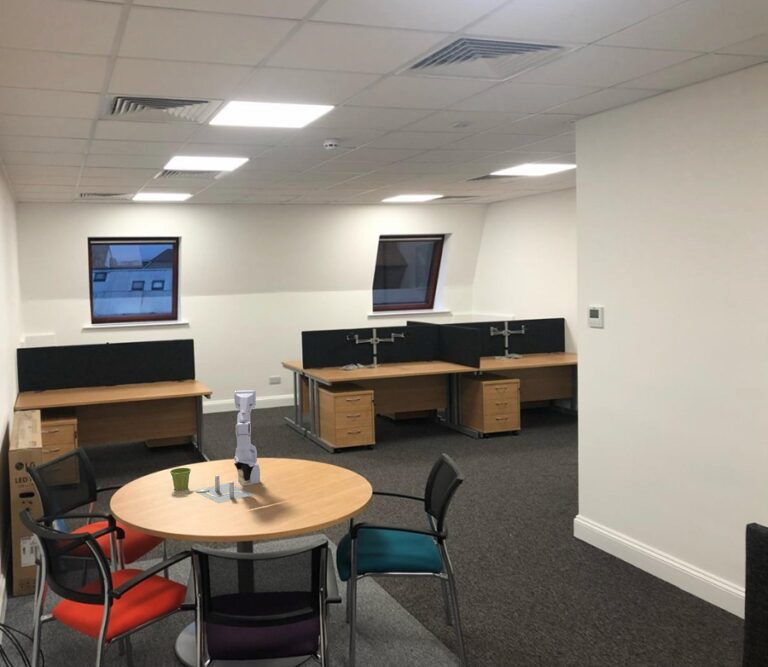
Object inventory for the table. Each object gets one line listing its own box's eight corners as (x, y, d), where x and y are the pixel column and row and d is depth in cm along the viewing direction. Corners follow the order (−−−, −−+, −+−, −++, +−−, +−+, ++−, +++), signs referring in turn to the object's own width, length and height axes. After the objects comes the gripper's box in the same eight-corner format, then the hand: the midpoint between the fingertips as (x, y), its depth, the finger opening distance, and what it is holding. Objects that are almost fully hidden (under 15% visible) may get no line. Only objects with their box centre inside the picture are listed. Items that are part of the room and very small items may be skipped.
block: (246, 480, 327) (245, 467, 327) (250, 482, 324) (250, 469, 324) (238, 482, 325) (237, 469, 324) (242, 484, 322) (242, 471, 321)
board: (228, 484, 342) (228, 468, 342) (255, 496, 324) (255, 479, 323) (193, 491, 331) (192, 475, 330) (218, 504, 312) (218, 487, 311)
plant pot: (175, 493, 329) (175, 474, 329) (167, 488, 337) (166, 470, 336) (195, 489, 335) (194, 470, 335) (186, 484, 343) (185, 466, 342)
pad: (205, 488, 334) (205, 487, 334) (211, 491, 330) (211, 490, 330) (193, 490, 330) (193, 489, 330) (199, 493, 326) (199, 492, 326)
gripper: (227, 447, 326) (228, 477, 327) (243, 453, 315) (244, 484, 316) (241, 445, 331) (242, 474, 332) (258, 451, 320) (258, 481, 321)
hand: (244, 479), depth 324 cm, fingers closed on block, 4 cm apart
